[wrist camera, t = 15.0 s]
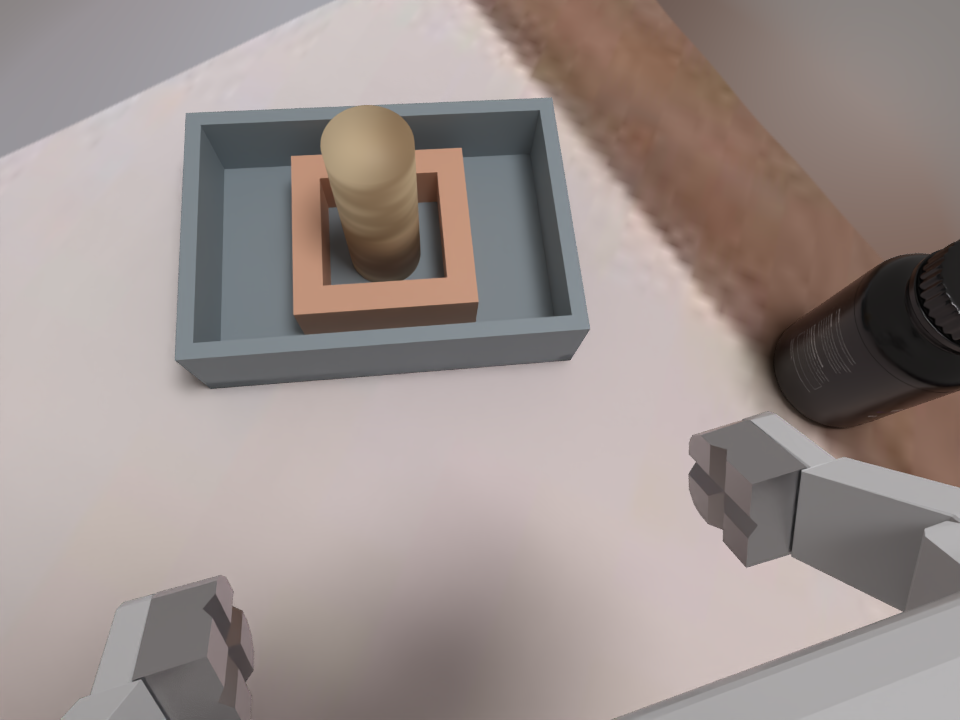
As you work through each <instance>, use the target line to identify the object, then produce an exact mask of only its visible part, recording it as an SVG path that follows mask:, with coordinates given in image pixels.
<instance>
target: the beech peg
mask: <svg viewBox="0 0 960 720" xmlns="http://www.w3.org/2000/svg"><path fill="white" fill-rule="evenodd" d="M320 146H321V153H322V157H323V160H324V164H325V167H326V171H327V174H328V178H329V181H330V185H331V189H332V192H333V196H334V199H335V203H336V206H337V210H338V213H339V217H340V221H341V224H342V228H343V231H344V235H345V238H346V242H347V245H348V249H349V253H350V256H351V260H352V263H353V265H354V268H355V269H356V271H357V272H358V273H359V274H360V275H361V276H362V277H363V278H365V279H366V280H368V281H370V282H386V281H401V280H404V279H406V278H407V277H409V276H410V275H411V274H412V273H413V272H414V271H415V269H416V268H417V266H418V264H419V261H420V256H421V248H420V231H419V213H418V195H417V178H416V160H415V142H414V136H413V133H412V130H411V128H410V126H409V125H408V124H407V122H406V121H405V120H404V119H403V118H402V117H401V116H400V115H398V114H397V113H395V112H393V111H391V110H389V109H387V108H384V107H380V106H374V105H362V106H356V107H352V108H349V109H346V110H344V111H342V112H341V113H339V114H337V115H336V116H335V117H334V118H333V119H332V120H331V121H330V122H329V123H328V124H327V126H326V127H325V129H324V131H323V134H322V137H321V145H320Z"/></svg>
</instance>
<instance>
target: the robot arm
mask: <svg viewBox="0 0 960 720" xmlns="http://www.w3.org/2000/svg"><path fill="white" fill-rule="evenodd" d="M689 455H690V456H691V457H692V458H693V459H694V460H695V461H696V463H695V465H694V466H693V468H692V469H691V471H690V472H689V474H688V475H689V491H690V494H691V497H692V500H693V503H694V505H695V507H696V509H697V510H698V512H699V514H700V515H701V516H702V518H703V519H704V520H705V521H706V522H707V524H709V525H712V526H715V527H717V528H720V529H722V530H723V542H724V543H725V544H726V545H727V547H728V548H729V549H730V550H731V551H732V552H733V553H734V554H735V556H736V557H737V558H738V559H739V560H740V561H741V562H742V564H743V565H744V566H745V567H746V568H747V567H750V566H754V565H757V564H760V563H763V562H767V561H770V560H773V559H776V558H780V557H783V556H786V555H789V554H792V555H791V557H793V558H795V559H797V560H799V561H802V562H804V563H806V564H808V565H810V566H812V567H814V568H816V569H818V570H820V571H822V572H824V573H826V574H828V575H830V576H832V577H834V578H836V579H838V580H840V581H842V582H844V583H846V584H848V585H850V586H852V587H854V588H856V589H858V590H860V591H862V592H864V593H866V594H868V595H870V596H872V597H874V598H876V599H878V600H880V601H882V602H884V603H886V604H888V605H890V606H892V607H894V608H897V609H899V610H901V611H903V612H902V613H900V614H897V615H894V616H891V617H889V618H886V619H883V620H880V621H878V622H875V623H872V624H870V625H867V626H864V627H861V628H859V629H856V630H853V631H851V632H848V633H845V634H842V635H840V636H837V637H834V638H831V639H829V640H826V641H823V642H821V643H818V644H815V645H812V646H810V647H807V648H804V649H802V650H799V651H796V652H793V653H791V654H788V655H785V656H783V657H780V658H777V659H774V660H772V661H769V662H766V663H764V664H761V665H758V666H755V667H753V668H750V669H747V670H745V671H742V672H739V673H736V674H734V675H731V676H728V677H726V678H723V679H720V680H717V681H715V682H712V683H709V684H707V685H704V686H701V687H699V688H696V689H693V690H690V691H688V692H685V693H682V694H680V695H677V696H674V697H671V698H669V699H666V700H663V701H661V702H658V703H655V704H652V705H650V706H647V707H644V708H642V709H639V710H636V711H633V712H631V713H628V714H625V715H622V716H620V717H617V718H614V719H612V720H960V488H958V487H955V486H951V485H947V484H943V483H940V482H936V481H932V480H928V479H925V478H921V477H917V476H913V475H910V474H906V473H902V472H898V471H895V470H891V469H887V468H883V467H880V466H876V465H872V464H868V463H865V462H861V461H857V460H853V459H850V458H846V457H843V458H839V459H835V458H834V457H833V456H831V455H830V454H829V453H827V452H826V451H825V450H823V449H822V448H821V447H819V446H818V445H817V444H815V443H814V442H813V441H811V440H810V439H809V438H807V437H806V436H805V435H803V434H802V433H801V432H800V431H798V430H797V429H796V428H794V427H793V426H792V425H790V424H789V423H788V422H786V421H785V420H784V419H782V418H781V417H780V416H778V415H777V414H775V413H772V412H769V411H767V412H764V413H761V414H758V415H755V416H751V417H748V418H745V419H743V420H742V421H737V422H734V423H731V424H727V425H724V426H721V427H718V428H714V429H711V430H708V431H704V432H701V433H698V434H695V435H692V437H691V439H690V442H689ZM233 593H234V591H233V589H232V587H231V585H230V584H229V582H228V580H227V578H226V577H225V576H222V575H219V576H215V577H212V578H208V579H204V580H201V581H197V582H193V583H190V584H186V585H182V586H179V587H175V588H171V589H168V590H164V591H160V592H157V593H156V594H152V595H148V596H144V597H141V598H137V599H133V600H130V601H126V602H123V603H122V604H121V605H120V606H119V607H118V609H117V610H116V612H115V615H114V619H113V622H112V625H111V628H110V632H109V635H108V638H107V641H106V645H105V648H104V651H103V654H102V658H101V661H100V664H99V667H98V671H97V674H96V677H95V680H94V684H93V687H92V690H91V693H90V695H89V696H86V697H83V698H80V699H79V700H78V701H77V702H76V703H75V704H74V705H73V706H72V707H71V708H70V710H69V711H68V712H67V713H66V714H65V715H64V716H63V717H62V718H61V719H60V720H251V705H252V695H251V693H250V691H249V689H248V687H247V685H246V683H245V682H246V681H247V679H248V678H249V676H250V675H251V673H252V672H253V670H254V650H253V642H252V635H251V631H250V628H249V624H248V621H247V619H246V617H245V615H244V612H243V611H242V610H240V609H238V608H235V607H233V606H232V604H233Z"/></svg>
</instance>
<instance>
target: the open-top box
mask: <svg viewBox="0 0 960 720" xmlns="http://www.w3.org/2000/svg"><path fill="white" fill-rule="evenodd" d="M374 106H380V107H384V108H387V109H389V110H391V111H393V112H395V113H397V114H398V115H400V116H401V117H402V118H403V119H404V120H405V121H406V122H407V124H408V125H409V126H410V128H411V130H412V133H413V136H414V142H415V160H416V178H417V195H418V213H419V231H420V248H421V256H420V261H419V264H418V266H417V268H416V269H415V271H414V272H413V273H412V274H411V275H410V276H409V277H407V278H406V279H404V280H401V281H386V282H370V281H368V280H366V279H365V278H363V277H362V276H361V275H360V274H359V273H358V272H357V271H356V269H355V268H354V265H353V263H352V260H351V256H350V253H349V249H348V245H347V242H346V238H345V235H344V231H343V228H342V224H341V221H340V217H339V213H338V210H337V206H336V203H335V199H334V196H333V192H332V189H331V185H330V181H329V178H328V174H327V171H326V167H325V164H324V160H323V157H322V153H321V146H320V145H321V137H322V134H323V131H324V129H325V127H326V126H327V124H328V123H329V122H330V121H331V120H332V119H333V118H334V117H335V116H336V115H337V114H339V113H341V112H342V111H344V110H346V109H349V108H352V107H356V106H343V107H319V108H295V109H272V110H248V111H224V112H200V113H186V121H185V143H184V166H183V188H182V211H181V233H180V256H179V278H178V300H177V323H176V345H175V361H176V362H178V363H179V364H180V365H181V366H183V367H184V368H185V369H187V370H188V371H189V372H190V373H192V374H193V375H194V376H195V377H197V378H198V379H199V380H200V381H202V382H203V383H204V384H205V385H207V386H208V387H209V388H210V389H213V388H225V387H238V386H250V385H263V384H275V383H288V382H300V381H313V380H325V379H338V378H351V377H363V376H376V375H388V374H401V373H413V372H426V371H438V370H451V369H464V368H476V367H489V366H501V365H514V364H526V363H539V362H551V361H564V360H571V358H572V357H573V355H574V354H575V352H576V351H577V349H578V347H579V346H580V344H581V343H582V341H583V339H584V338H585V336H586V335H587V333H588V331H589V330H590V325H589V319H588V313H587V307H586V301H585V295H584V289H583V283H582V277H581V271H580V265H579V258H578V252H577V246H576V240H575V234H574V228H573V222H572V216H571V210H570V204H569V198H568V192H567V186H566V180H565V174H564V168H563V162H562V155H561V149H560V143H559V137H558V131H557V125H556V119H555V113H554V107H553V101H552V98H533V99H509V100H485V101H462V102H438V103H414V104H390V105H374Z"/></svg>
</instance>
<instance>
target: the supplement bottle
mask: <svg viewBox="0 0 960 720" xmlns="http://www.w3.org/2000/svg"><path fill="white" fill-rule="evenodd" d="M774 370H775V375H776V378H777V381H778V384H779V386H780V388H781V390H782V392H783V394H784V395H785V397H786V398H787V400H788V401H789V402H790V403H791V404H792V405H793V406H794V407H795V408H796V409H797V410H798V411H799V412H800V413H802V414H803V415H805V416H806V417H808V418H809V419H811V420H813V421H815V422H818V423H820V424H823V425H827V426H832V427H841V428H842V427H853V426H858V425H861V424H864V423H867V422H871V421H874V420H877V419H879V418H882V417H885V416H888V415H891V414H894V413H897V412H899V411H902V410H905V409H908V408H911V407H914V406H917V405H919V404H922V403H925V402H928V401H931V400H934V399H936V398H939V397H942V396H945V395H948V394H951V393H954V392H956V391H959V390H960V239H959V240H958V241H956V242H954V243H951V244H950V245H948V246H947V247H945V248H944V249H941V250H938V251H936V252H934V253H932V254H923V253H918V254H917V253H915V254H905V255H900V256H896V257H893V258H890V259H888V260H886V261H884V262H882V263H881V264H879V265H877V266H876V267H874V268H873V269H871V270H870V271H868V272H867V273H865V274H864V275H863V276H861V277H860V278H858V279H857V280H855V281H854V282H852V283H851V284H850V285H848V286H847V287H845V288H844V289H842V290H841V291H839V292H838V293H837V294H835V295H834V296H832V297H831V298H829V299H828V300H826V301H825V302H824V303H822V304H821V305H819V306H818V307H816V308H815V309H813V310H812V311H811V312H809V313H808V314H806V315H805V316H803V317H802V318H800V319H799V320H798V321H796V322H795V323H794V324H792V325H791V326H790V327H789V328H788V329H787V330H786V331H785V332H784V333H783V335H782V336H781V338H780V340H779V342H778V344H777V346H776V350H775V355H774Z"/></svg>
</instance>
